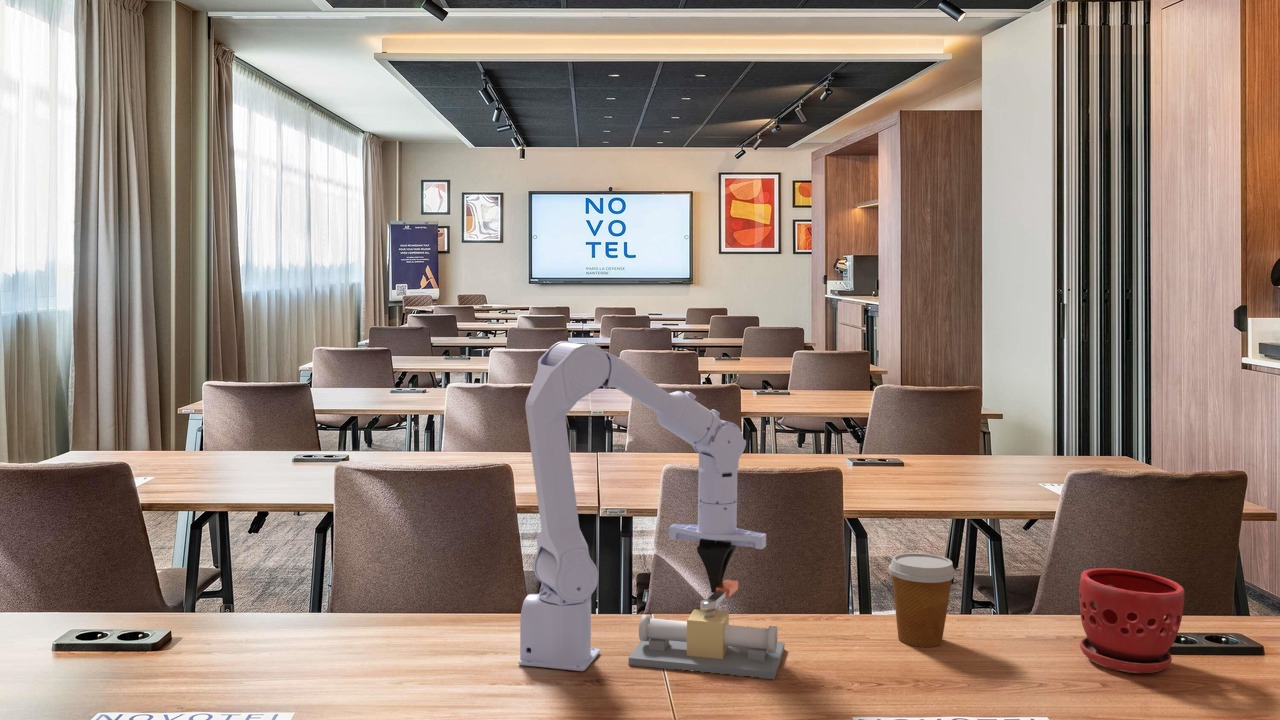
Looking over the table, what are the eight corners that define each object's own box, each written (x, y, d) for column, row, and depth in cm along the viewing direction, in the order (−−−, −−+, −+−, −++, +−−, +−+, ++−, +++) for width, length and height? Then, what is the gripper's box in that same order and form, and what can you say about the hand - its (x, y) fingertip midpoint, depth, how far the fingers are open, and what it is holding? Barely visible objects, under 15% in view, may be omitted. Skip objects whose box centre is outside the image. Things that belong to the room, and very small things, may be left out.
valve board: (628, 664, 141) (628, 616, 141) (649, 636, 153) (649, 591, 152) (774, 679, 136) (775, 629, 136) (784, 649, 148) (785, 602, 147)
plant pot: (1131, 686, 135) (1134, 596, 134) (1056, 653, 147) (1059, 570, 146) (1203, 673, 140) (1207, 586, 139) (1124, 642, 152) (1128, 562, 151)
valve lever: (713, 612, 142) (713, 603, 142) (698, 610, 143) (698, 601, 143) (738, 589, 153) (738, 581, 153) (724, 587, 154) (724, 579, 154)
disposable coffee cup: (907, 653, 146) (910, 570, 146) (875, 632, 156) (877, 554, 155) (966, 648, 149) (969, 566, 148) (931, 627, 158) (933, 550, 157)
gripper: (772, 500, 152) (771, 590, 153) (681, 491, 158) (680, 578, 159) (758, 509, 146) (756, 603, 147) (664, 499, 152) (663, 590, 152)
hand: (716, 591), depth 152 cm, fingers closed
